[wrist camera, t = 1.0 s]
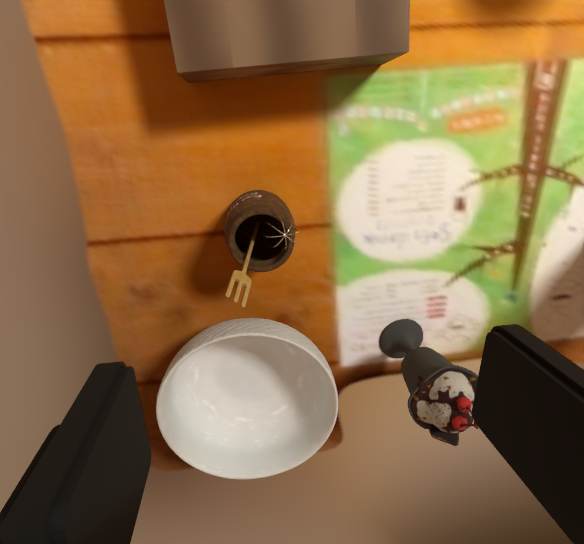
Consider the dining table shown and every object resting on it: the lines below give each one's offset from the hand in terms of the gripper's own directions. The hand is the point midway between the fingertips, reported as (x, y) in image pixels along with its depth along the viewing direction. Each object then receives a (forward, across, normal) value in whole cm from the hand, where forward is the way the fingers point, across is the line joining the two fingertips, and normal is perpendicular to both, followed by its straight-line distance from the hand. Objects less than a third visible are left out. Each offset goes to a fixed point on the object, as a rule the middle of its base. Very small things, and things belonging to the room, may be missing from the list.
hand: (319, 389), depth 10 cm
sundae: (+26, -15, +16) cm, 34 cm away
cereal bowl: (+26, +2, +18) cm, 32 cm away
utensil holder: (+26, 0, +2) cm, 26 cm away
